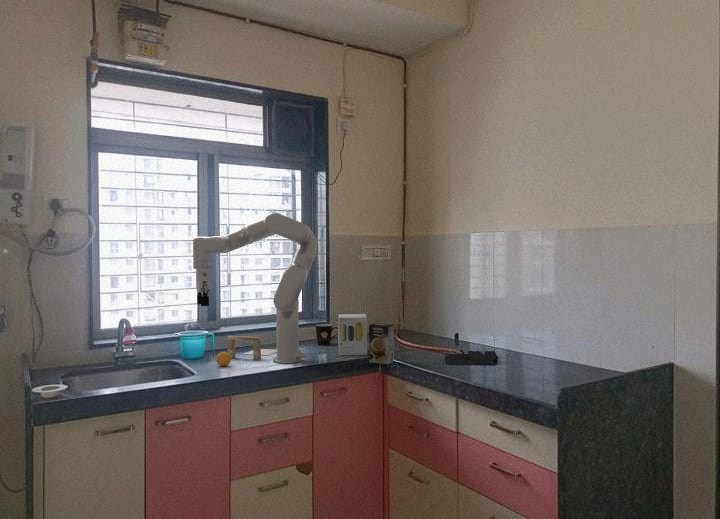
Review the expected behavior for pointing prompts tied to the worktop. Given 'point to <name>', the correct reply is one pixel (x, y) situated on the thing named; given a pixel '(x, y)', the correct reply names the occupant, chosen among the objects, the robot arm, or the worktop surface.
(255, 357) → the bridge
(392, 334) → the coffee box
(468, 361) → the dark slate chunk
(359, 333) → the supplement box
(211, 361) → the worktop surface
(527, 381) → the worktop surface
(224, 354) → the ball
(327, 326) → the coffee mug
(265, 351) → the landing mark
